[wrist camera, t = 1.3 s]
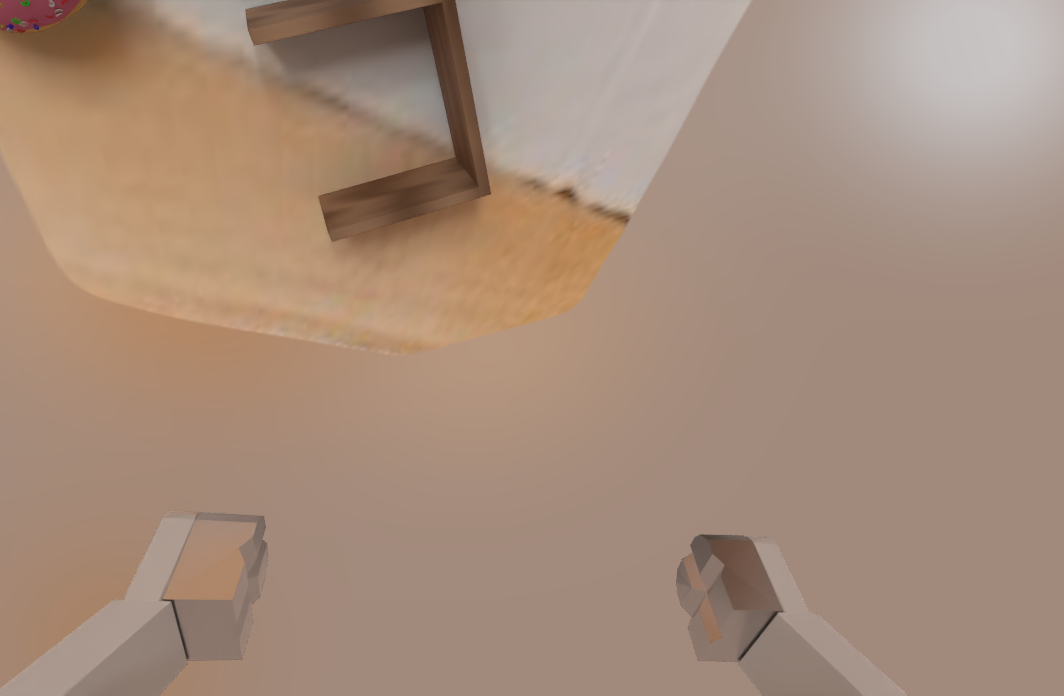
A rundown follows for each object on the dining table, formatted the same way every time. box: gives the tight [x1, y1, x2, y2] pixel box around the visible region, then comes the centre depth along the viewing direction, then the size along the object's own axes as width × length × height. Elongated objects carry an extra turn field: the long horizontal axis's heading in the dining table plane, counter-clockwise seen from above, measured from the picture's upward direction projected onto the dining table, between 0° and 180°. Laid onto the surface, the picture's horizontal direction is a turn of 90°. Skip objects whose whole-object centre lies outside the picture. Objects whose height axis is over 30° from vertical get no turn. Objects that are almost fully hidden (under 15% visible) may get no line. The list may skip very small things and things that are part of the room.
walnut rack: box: [245, 0, 491, 242], centre depth 35 cm, size 12×26×11 cm, turn 8°
